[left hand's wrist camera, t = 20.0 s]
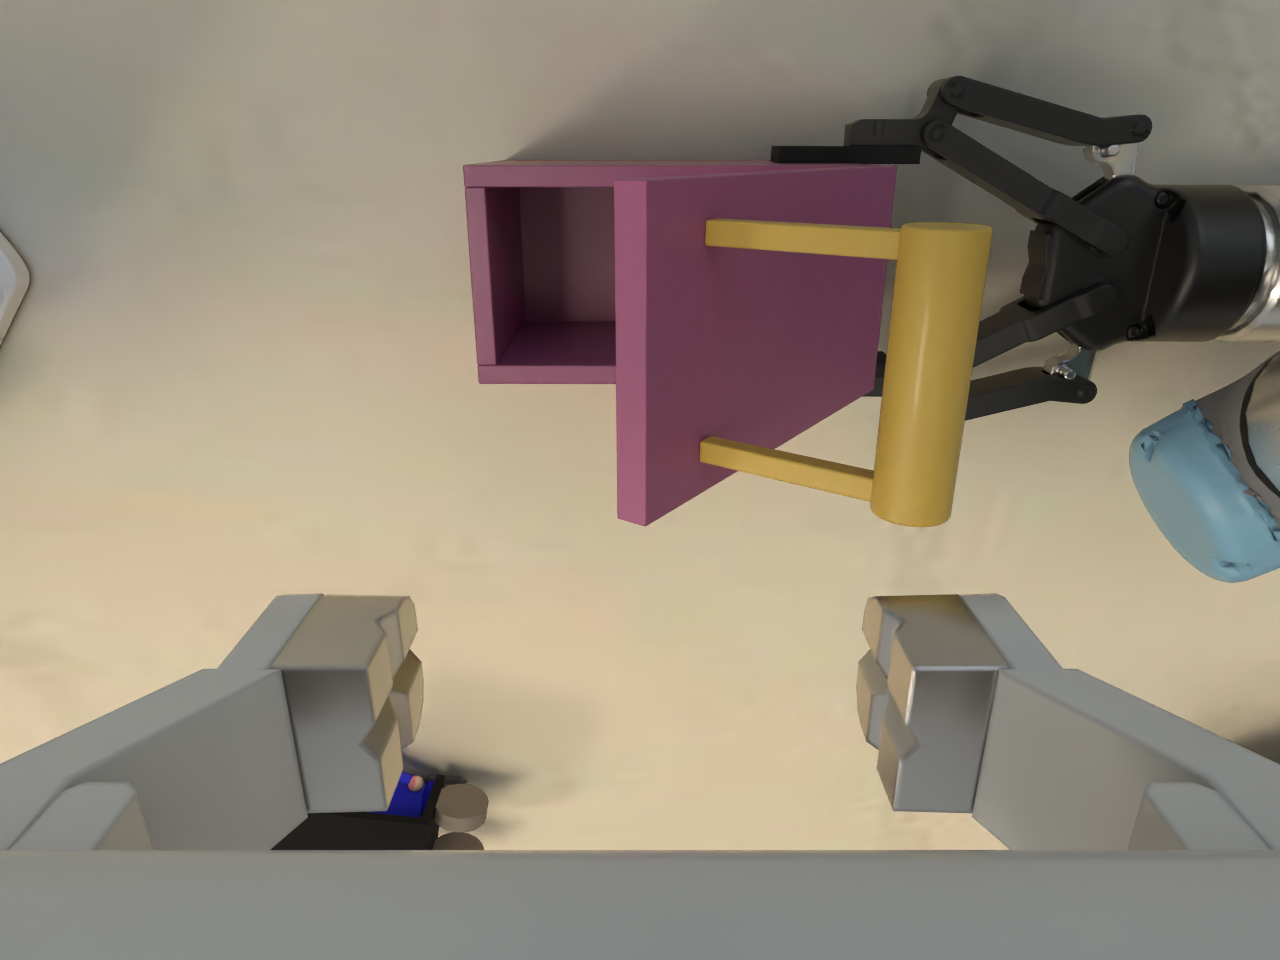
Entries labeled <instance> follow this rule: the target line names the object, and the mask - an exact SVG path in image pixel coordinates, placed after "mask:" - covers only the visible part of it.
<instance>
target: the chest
mask: <svg viewBox="0 0 1280 960" xmlns="http://www.w3.org/2000/svg"><path fill="white" fill-rule="evenodd" d="M854 166H873V165H872V164H861V163H774V162H771V160H503V161H495V162H486V163H478V164H470V165H464V166H463V171H464V185H465V187H466V188H465V198H466V212H467V226H468V240H469V254H470V268H471V282H472V296H473V310H474V323H475V337H476V351H477V364H478V379H479V383H480V384H616V315H615V220H614V180H616V179H629V178H648V177H667V176H686V175H704V174H723V173H742V172H761V171H779V170H798V169H817V168H836V167H854ZM877 166H880V165H877Z"/></svg>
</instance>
